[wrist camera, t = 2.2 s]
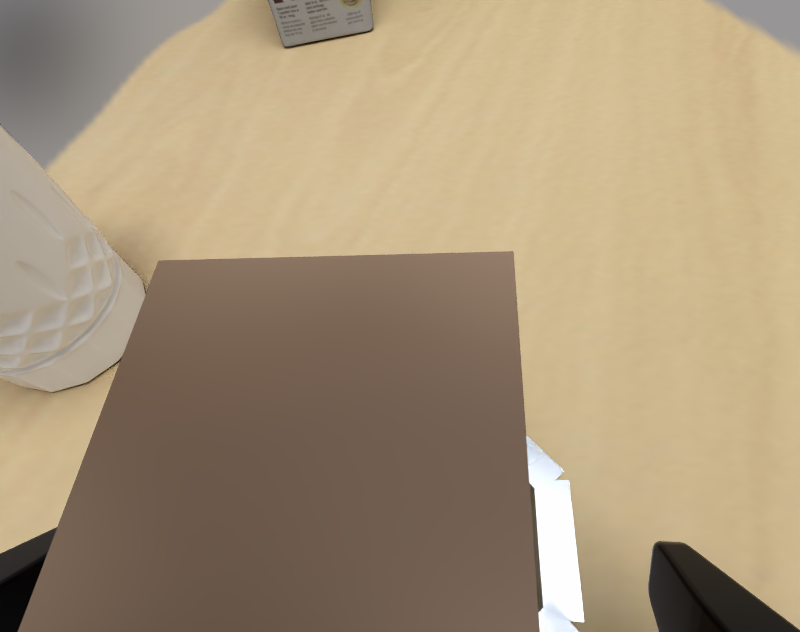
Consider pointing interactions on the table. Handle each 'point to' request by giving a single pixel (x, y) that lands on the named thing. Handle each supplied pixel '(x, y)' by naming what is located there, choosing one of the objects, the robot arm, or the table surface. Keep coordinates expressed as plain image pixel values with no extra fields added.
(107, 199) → the table surface
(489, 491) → the walnut peg
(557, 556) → the steel ring
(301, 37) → the coffee box
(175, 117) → the table surface
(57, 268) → the white cup
